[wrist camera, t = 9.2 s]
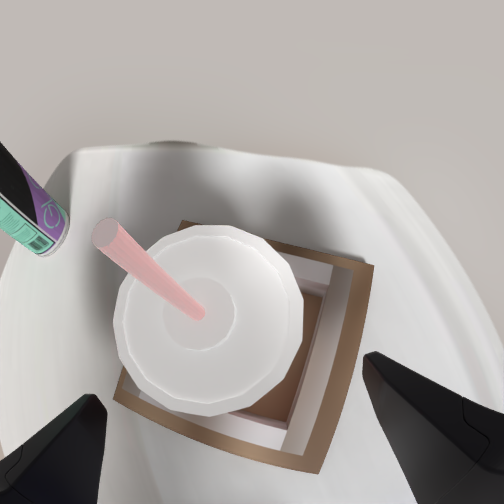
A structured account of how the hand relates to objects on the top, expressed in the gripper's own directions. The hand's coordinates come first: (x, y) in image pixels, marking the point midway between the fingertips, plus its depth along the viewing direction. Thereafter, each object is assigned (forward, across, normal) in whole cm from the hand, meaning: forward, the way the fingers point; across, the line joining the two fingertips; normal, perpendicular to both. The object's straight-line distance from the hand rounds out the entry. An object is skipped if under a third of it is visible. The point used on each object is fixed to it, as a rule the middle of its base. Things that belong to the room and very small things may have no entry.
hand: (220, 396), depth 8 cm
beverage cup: (+8, 0, +4) cm, 9 cm away
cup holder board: (+8, 0, +4) cm, 10 cm away
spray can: (+18, +18, -5) cm, 26 cm away
